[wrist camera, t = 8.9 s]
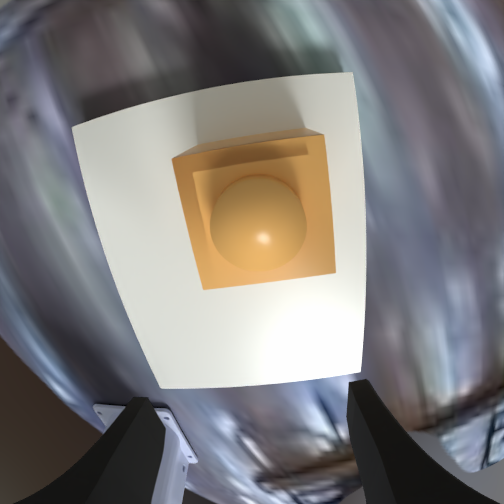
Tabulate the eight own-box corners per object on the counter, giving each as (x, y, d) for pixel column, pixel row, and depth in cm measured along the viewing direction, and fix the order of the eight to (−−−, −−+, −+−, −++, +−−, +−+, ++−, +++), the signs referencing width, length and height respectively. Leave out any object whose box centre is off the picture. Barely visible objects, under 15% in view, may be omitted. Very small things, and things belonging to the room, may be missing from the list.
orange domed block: (317, 229, 16) (341, 286, 11) (218, 243, 16) (198, 304, 11) (305, 128, 14) (330, 136, 9) (197, 144, 14) (162, 163, 9)
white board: (355, 357, 21) (360, 371, 20) (165, 374, 22) (160, 388, 21) (344, 75, 14) (352, 72, 12) (85, 124, 15) (71, 127, 14)
